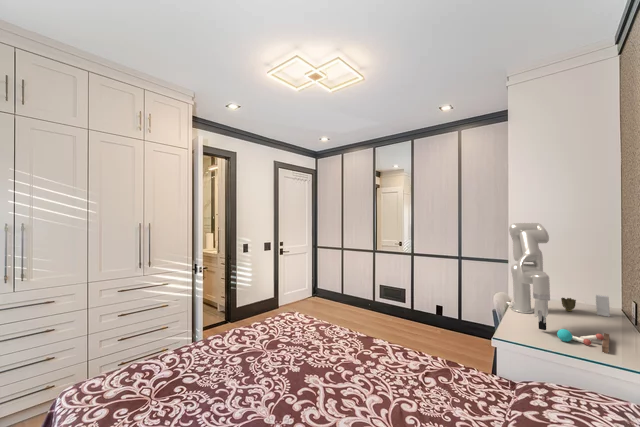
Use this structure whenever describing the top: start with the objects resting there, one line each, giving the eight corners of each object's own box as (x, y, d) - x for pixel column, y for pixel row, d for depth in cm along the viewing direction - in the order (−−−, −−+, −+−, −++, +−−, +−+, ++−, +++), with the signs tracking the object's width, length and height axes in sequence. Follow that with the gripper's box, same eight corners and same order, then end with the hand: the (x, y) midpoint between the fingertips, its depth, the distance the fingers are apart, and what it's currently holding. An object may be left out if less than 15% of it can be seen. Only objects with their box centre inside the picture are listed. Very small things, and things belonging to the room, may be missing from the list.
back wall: (602, 352, 135) (602, 346, 135) (604, 338, 148) (603, 333, 148) (608, 353, 133) (608, 347, 133) (609, 339, 147) (609, 334, 147)
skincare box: (609, 315, 180) (609, 295, 180) (610, 317, 177) (609, 297, 177) (596, 313, 184) (595, 294, 184) (596, 315, 181) (595, 295, 181)
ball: (570, 345, 146) (562, 336, 151) (578, 337, 143) (569, 328, 149) (559, 342, 146) (551, 333, 151) (567, 333, 143) (559, 325, 149)
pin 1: (569, 340, 149) (589, 347, 140) (567, 335, 149) (588, 341, 140) (572, 338, 150) (593, 344, 141) (571, 333, 150) (591, 338, 141)
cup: (573, 309, 191) (573, 297, 191) (578, 313, 185) (577, 301, 185) (559, 308, 194) (559, 296, 195) (563, 312, 188) (563, 300, 188)
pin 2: (579, 336, 147) (601, 334, 141) (580, 334, 149) (601, 332, 143) (582, 342, 146) (605, 340, 140) (583, 340, 148) (605, 338, 142)
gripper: (535, 292, 167) (537, 323, 167) (530, 298, 157) (531, 331, 157) (552, 294, 161) (553, 327, 161) (547, 300, 151) (548, 335, 151)
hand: (542, 329), depth 159 cm, fingers closed
